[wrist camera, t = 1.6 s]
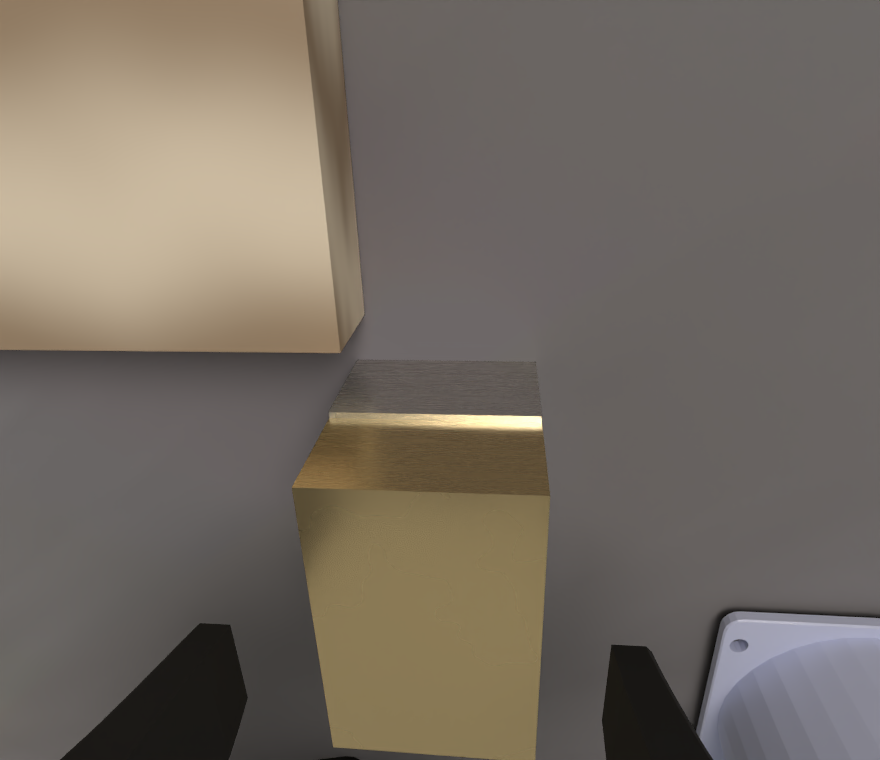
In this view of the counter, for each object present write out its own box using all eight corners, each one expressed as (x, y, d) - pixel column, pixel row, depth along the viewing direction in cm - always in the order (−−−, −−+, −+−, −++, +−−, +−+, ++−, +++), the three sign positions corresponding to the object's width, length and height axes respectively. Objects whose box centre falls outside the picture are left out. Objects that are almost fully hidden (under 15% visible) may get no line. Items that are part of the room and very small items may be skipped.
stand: (364, 314, 15) (340, 353, 13) (-72, 313, 16) (-164, 348, 14) (306, -368, 10) (249, -498, 8) (-319, -299, 11) (-522, -395, 9)
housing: (526, 585, 19) (534, 766, 14) (378, 578, 19) (334, 751, 14) (535, 360, 16) (550, 488, 10) (358, 358, 16) (290, 480, 11)
